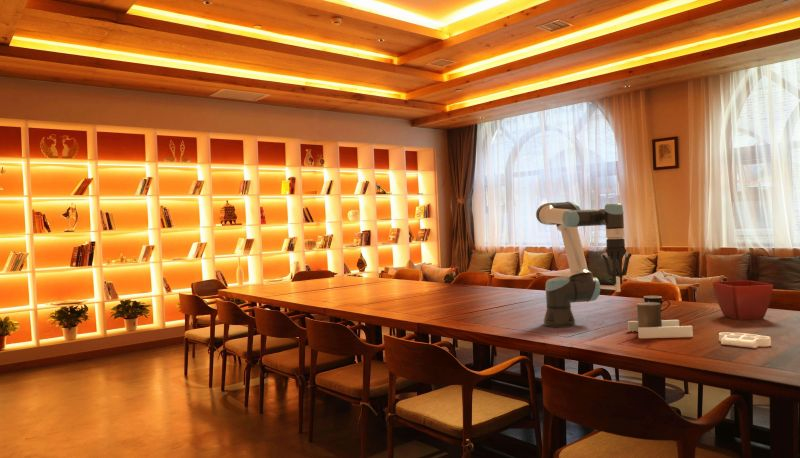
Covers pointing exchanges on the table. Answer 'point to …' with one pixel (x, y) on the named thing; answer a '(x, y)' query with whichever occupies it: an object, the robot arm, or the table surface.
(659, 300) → the coffee mug
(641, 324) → the pillar candle
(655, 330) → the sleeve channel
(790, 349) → the table surface
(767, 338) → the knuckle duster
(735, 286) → the plant pot
